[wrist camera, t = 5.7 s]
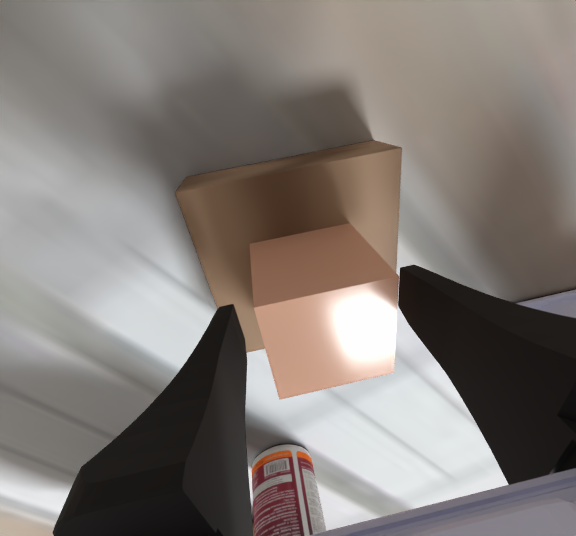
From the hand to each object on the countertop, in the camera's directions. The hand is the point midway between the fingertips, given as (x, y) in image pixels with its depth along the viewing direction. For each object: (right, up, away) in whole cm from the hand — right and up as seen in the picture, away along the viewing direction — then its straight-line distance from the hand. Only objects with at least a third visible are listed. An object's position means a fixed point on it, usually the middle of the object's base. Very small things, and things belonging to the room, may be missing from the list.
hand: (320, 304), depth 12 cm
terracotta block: (0, +1, +3) cm, 3 cm away
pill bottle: (-2, -18, +18) cm, 25 cm away
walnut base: (-1, +3, +5) cm, 6 cm away
